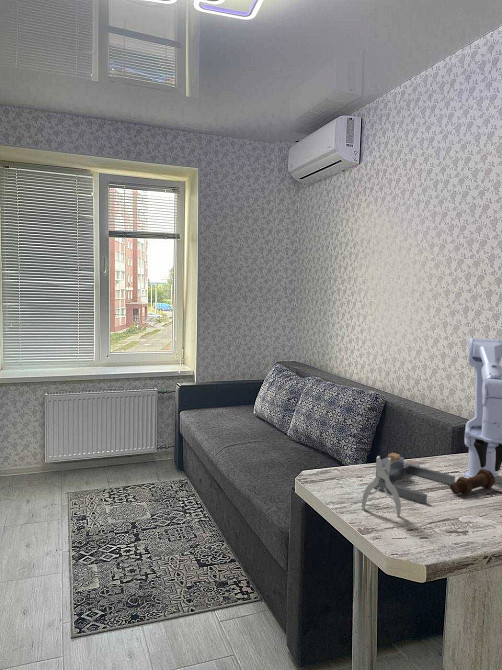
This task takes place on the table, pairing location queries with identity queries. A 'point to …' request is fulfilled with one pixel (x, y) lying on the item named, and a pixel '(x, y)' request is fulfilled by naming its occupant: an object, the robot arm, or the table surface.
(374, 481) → the pliers
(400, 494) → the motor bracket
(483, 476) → the bolt
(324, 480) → the table surface
